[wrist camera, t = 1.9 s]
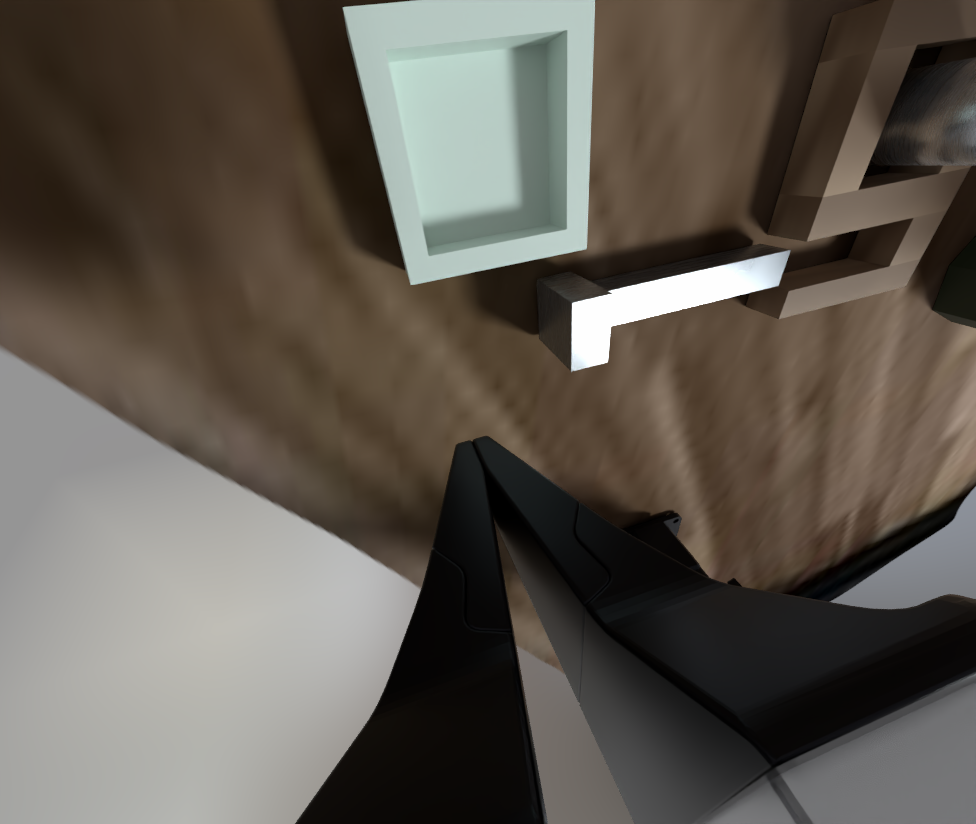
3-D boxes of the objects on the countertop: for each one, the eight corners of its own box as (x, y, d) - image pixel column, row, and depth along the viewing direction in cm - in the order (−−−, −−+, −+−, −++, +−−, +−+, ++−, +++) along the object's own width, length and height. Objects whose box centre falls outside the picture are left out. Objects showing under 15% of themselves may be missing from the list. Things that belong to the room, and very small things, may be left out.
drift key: (746, 289, 19) (810, 310, 16) (539, 338, 17) (571, 371, 15) (764, 230, 17) (838, 242, 15) (536, 278, 16) (571, 303, 13)
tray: (562, 239, 15) (586, 249, 14) (405, 270, 14) (411, 285, 13) (561, 10, 11) (595, -16, 10) (346, 32, 10) (342, 7, 9)
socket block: (864, 277, 21) (905, 286, 19) (745, 306, 20) (778, 318, 18) (997, -5, 15) (1075, -25, 13) (833, 15, 13) (896, -6, 12)
